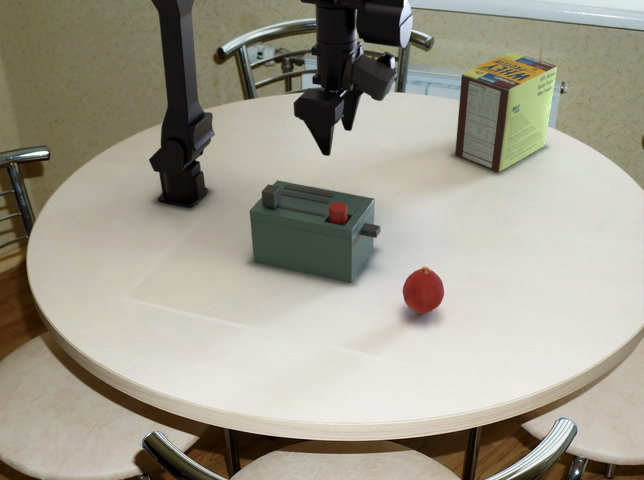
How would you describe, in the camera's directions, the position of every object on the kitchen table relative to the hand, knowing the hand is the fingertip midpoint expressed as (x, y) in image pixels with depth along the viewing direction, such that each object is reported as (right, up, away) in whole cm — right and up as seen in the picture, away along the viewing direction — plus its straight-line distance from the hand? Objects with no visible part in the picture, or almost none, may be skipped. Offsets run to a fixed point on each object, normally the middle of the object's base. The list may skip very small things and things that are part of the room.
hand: (337, 142), depth 130 cm
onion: (+12, -27, -8) cm, 30 cm away
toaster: (-3, -17, +3) cm, 18 cm away
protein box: (+29, +7, +32) cm, 44 cm away
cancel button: (0, -13, -6) cm, 14 cm away
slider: (-10, -10, -4) cm, 14 cm away
